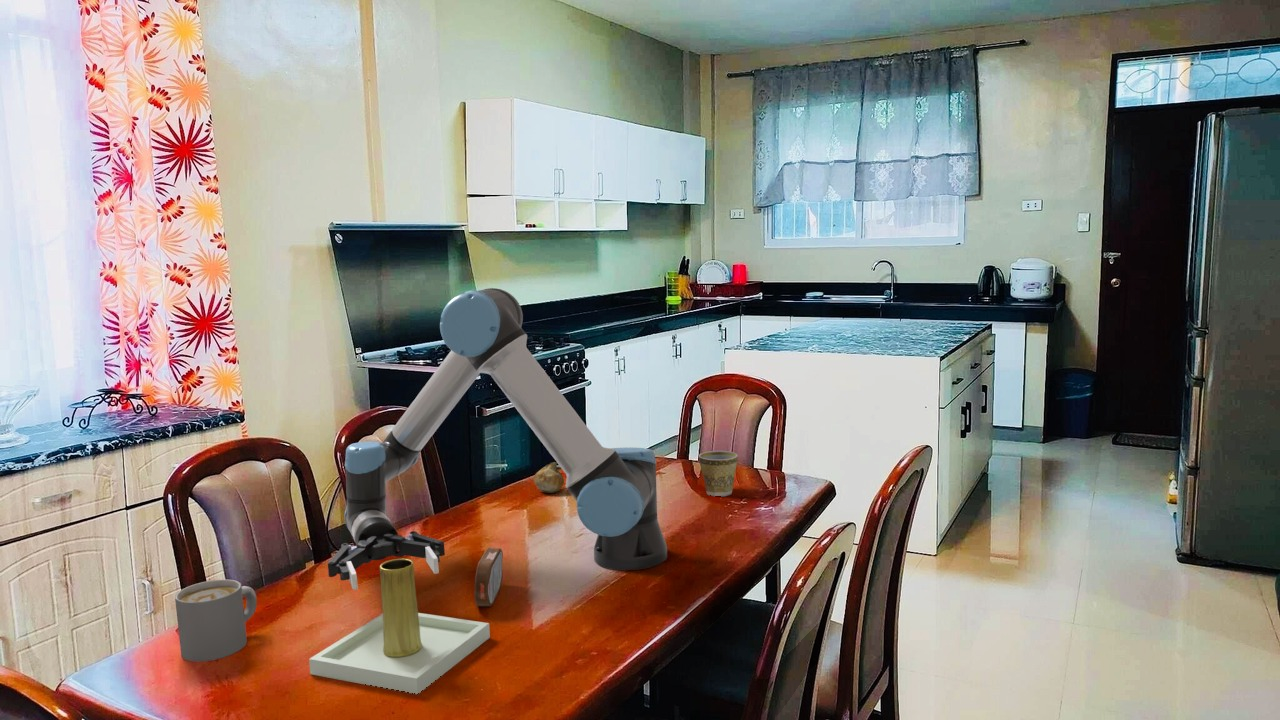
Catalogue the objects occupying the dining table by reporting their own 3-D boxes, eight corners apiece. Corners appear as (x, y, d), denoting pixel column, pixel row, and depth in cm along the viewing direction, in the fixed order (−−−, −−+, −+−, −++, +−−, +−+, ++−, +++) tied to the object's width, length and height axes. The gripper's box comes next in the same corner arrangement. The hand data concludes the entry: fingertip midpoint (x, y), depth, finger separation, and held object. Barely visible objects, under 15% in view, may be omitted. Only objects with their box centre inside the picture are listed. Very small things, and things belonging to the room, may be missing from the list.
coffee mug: (198, 667, 142) (191, 607, 141) (170, 651, 148) (164, 593, 147) (277, 637, 152) (272, 580, 151) (248, 623, 159) (243, 569, 157)
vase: (429, 643, 146) (423, 559, 144) (408, 660, 140) (401, 572, 138) (397, 639, 147) (391, 555, 146) (375, 655, 142) (368, 569, 140)
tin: (490, 582, 174) (488, 541, 173) (506, 582, 174) (504, 540, 173) (473, 614, 159) (471, 569, 158) (491, 614, 159) (488, 568, 158)
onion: (538, 488, 241) (537, 459, 240) (567, 488, 240) (566, 459, 239) (531, 496, 233) (529, 466, 232) (561, 496, 232) (559, 466, 231)
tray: (489, 637, 149) (489, 623, 149) (417, 694, 131) (416, 678, 131) (391, 622, 157) (390, 608, 156) (310, 674, 138) (309, 658, 138)
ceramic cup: (740, 498, 225) (739, 459, 223) (700, 499, 225) (699, 460, 224) (735, 484, 238) (734, 447, 236) (698, 485, 238) (697, 448, 236)
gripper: (441, 542, 177) (469, 579, 158) (307, 566, 166) (321, 610, 147) (438, 505, 175) (466, 539, 156) (304, 528, 165) (316, 567, 146)
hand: (396, 573), depth 152 cm, fingers open, 13 cm apart
